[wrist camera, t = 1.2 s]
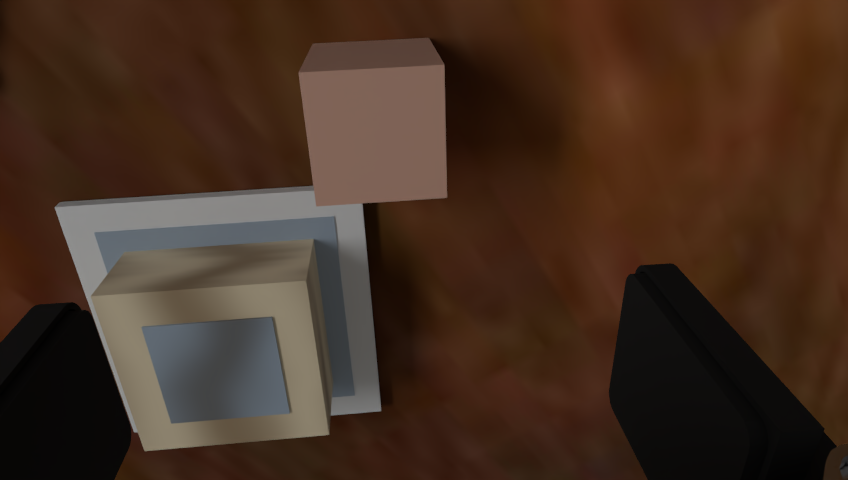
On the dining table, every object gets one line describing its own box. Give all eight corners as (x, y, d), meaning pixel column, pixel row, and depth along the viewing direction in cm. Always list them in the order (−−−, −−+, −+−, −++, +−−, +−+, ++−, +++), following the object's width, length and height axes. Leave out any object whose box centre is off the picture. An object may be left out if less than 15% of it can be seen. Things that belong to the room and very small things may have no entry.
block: (428, 37, 26) (444, 64, 20) (432, 147, 28) (447, 197, 23) (313, 43, 26) (298, 72, 20) (326, 154, 28) (316, 206, 23)
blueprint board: (360, 182, 29) (360, 187, 28) (380, 403, 35) (381, 412, 34) (60, 202, 28) (53, 207, 27) (137, 424, 34) (133, 433, 34)
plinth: (313, 238, 29) (305, 281, 25) (333, 381, 33) (328, 436, 30) (125, 251, 28) (89, 297, 25) (168, 394, 33) (143, 452, 29)
